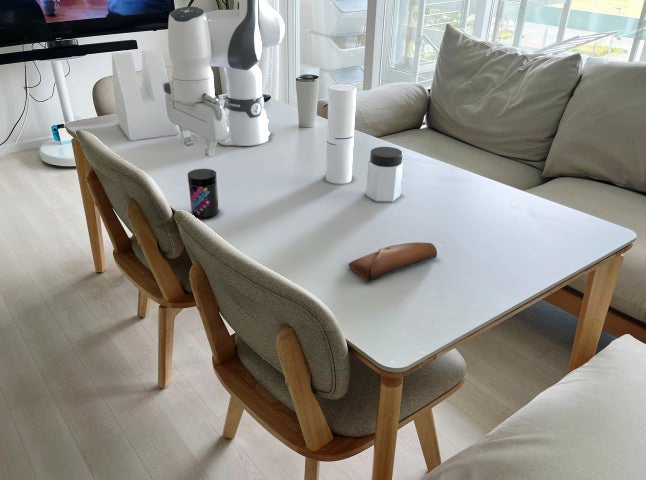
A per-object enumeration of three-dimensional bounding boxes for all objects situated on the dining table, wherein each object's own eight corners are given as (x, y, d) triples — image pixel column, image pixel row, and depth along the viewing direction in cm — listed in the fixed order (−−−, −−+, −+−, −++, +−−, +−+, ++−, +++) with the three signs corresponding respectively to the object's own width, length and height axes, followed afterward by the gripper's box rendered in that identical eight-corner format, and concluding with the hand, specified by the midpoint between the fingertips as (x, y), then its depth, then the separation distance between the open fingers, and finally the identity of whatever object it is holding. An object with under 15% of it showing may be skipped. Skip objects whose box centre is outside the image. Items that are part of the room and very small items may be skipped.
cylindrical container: (349, 184, 161) (354, 91, 148) (323, 182, 162) (326, 89, 149) (352, 175, 167) (358, 85, 154) (328, 173, 168) (331, 83, 155)
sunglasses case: (410, 242, 131) (423, 225, 126) (427, 268, 129) (441, 251, 124) (345, 264, 123) (356, 247, 117) (362, 292, 120) (374, 275, 115)
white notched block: (118, 124, 206) (106, 48, 193) (162, 119, 211) (153, 45, 198) (130, 140, 191) (118, 59, 178) (176, 134, 197) (168, 55, 184)
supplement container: (187, 211, 145) (183, 171, 140) (213, 206, 148) (210, 166, 143) (196, 222, 140) (192, 181, 135) (223, 216, 143) (220, 176, 138)
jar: (398, 189, 158) (402, 146, 152) (402, 202, 151) (406, 157, 145) (364, 189, 158) (367, 146, 152) (367, 201, 152) (370, 157, 145)
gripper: (232, 97, 124) (236, 160, 131) (182, 78, 137) (188, 136, 144) (207, 102, 120) (212, 166, 128) (158, 82, 133) (165, 142, 141)
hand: (199, 150), depth 136 cm, fingers open, 8 cm apart
